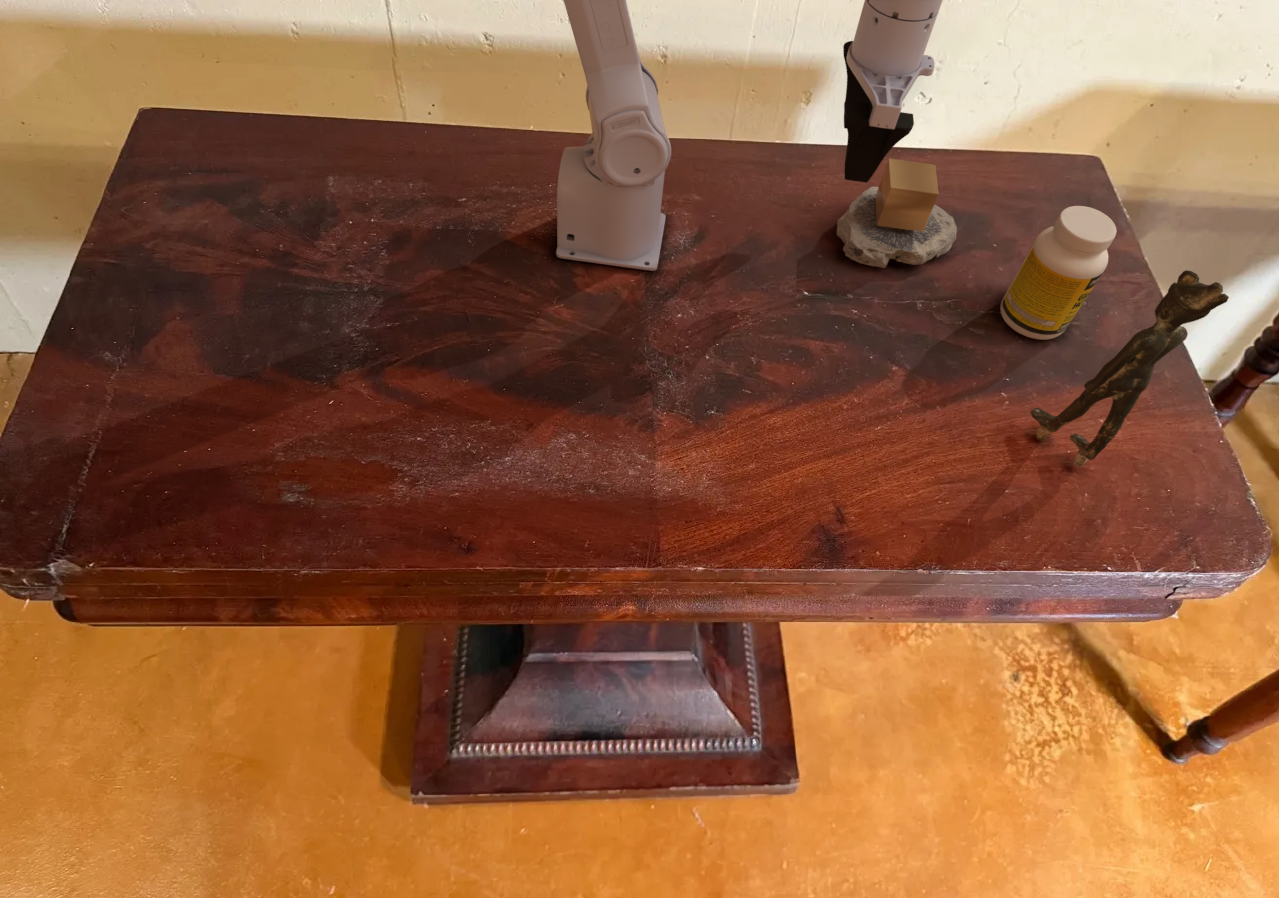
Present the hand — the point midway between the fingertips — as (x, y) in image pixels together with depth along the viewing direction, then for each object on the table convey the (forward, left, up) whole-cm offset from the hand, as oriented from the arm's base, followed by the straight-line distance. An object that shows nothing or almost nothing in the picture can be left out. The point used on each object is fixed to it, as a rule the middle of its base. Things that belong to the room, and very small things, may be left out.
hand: (855, 152), depth 80 cm
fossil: (+6, 0, -10) cm, 11 cm away
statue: (+19, -23, -10) cm, 31 cm away
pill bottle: (+19, -8, -10) cm, 22 cm away
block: (+6, +1, -6) cm, 9 cm away
